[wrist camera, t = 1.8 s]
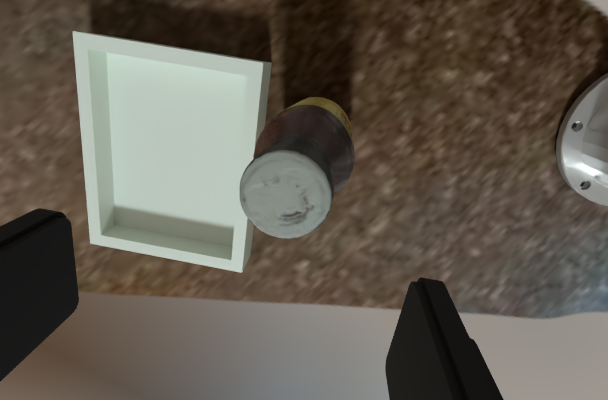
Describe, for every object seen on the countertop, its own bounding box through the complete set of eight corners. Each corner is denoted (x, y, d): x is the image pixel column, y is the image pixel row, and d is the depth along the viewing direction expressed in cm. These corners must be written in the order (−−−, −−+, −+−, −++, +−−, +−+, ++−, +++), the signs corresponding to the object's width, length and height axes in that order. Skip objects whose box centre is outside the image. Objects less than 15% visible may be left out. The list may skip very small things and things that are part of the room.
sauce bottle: (342, 167, 35) (338, 288, 16) (279, 153, 35) (205, 257, 16) (359, 99, 32) (377, 150, 14) (291, 84, 32) (220, 115, 14)
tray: (271, 62, 32) (263, 62, 29) (250, 255, 39) (241, 272, 36) (99, 34, 33) (72, 31, 29) (110, 228, 40) (90, 243, 37)
